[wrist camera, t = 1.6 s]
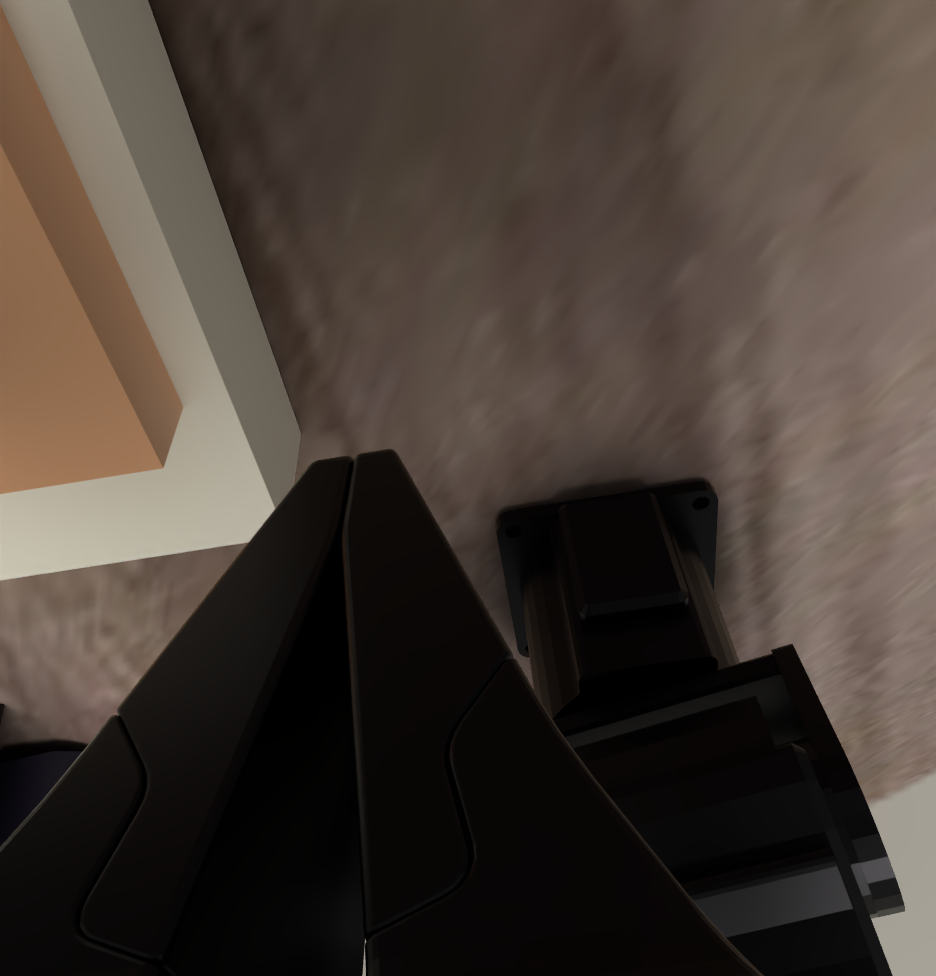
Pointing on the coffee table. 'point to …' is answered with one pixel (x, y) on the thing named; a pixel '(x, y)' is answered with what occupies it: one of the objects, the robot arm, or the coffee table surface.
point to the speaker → (28, 785)
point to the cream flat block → (154, 305)
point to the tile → (66, 316)
